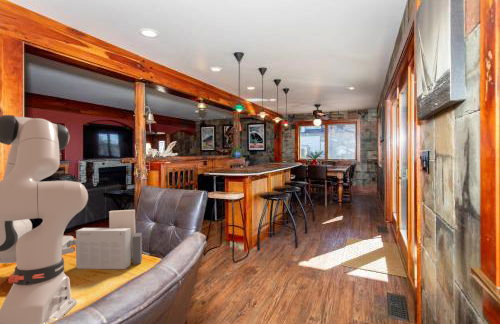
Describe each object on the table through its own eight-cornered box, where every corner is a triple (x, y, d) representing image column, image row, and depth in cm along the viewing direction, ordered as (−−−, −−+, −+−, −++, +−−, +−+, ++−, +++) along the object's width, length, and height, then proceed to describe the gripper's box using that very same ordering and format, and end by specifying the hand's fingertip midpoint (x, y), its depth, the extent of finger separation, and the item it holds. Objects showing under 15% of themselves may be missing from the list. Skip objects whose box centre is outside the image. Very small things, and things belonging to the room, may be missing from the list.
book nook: (140, 263, 118) (139, 213, 117) (106, 267, 115) (105, 214, 114) (142, 257, 126) (142, 209, 125) (110, 260, 122) (109, 210, 121)
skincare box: (131, 264, 118) (131, 227, 117) (125, 269, 112) (124, 231, 112) (84, 263, 119) (83, 227, 118) (75, 268, 113) (74, 230, 113)
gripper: (25, 250, 100) (68, 246, 104) (50, 234, 120) (85, 231, 124) (26, 267, 101) (69, 263, 104) (50, 248, 120) (86, 245, 124)
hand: (78, 246), depth 114 cm, fingers open, 8 cm apart
